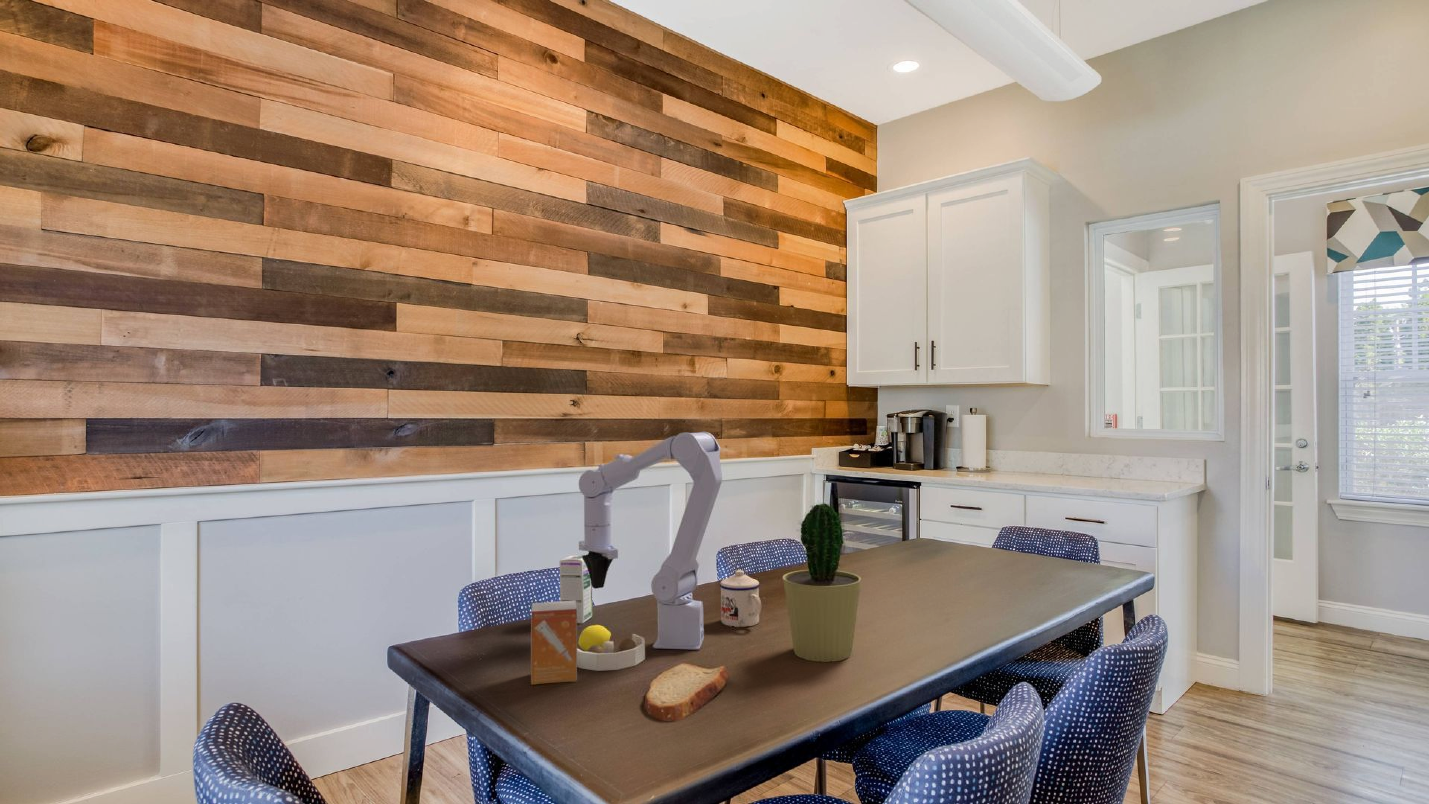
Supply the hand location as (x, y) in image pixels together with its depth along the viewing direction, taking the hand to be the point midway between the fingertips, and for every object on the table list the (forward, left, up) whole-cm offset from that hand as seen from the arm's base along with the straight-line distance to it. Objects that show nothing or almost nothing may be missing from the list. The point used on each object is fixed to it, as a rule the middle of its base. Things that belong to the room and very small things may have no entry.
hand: (598, 587), depth 160 cm
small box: (+1, +27, -10) cm, 29 cm away
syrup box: (+8, -10, -10) cm, 16 cm away
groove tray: (-6, +16, -10) cm, 20 cm away
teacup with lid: (-31, -10, -10) cm, 34 cm away
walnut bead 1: (-5, +19, -10) cm, 22 cm away
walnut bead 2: (-10, +15, -10) cm, 20 cm away
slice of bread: (-25, +33, -10) cm, 43 cm away
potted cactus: (-48, +9, -10) cm, 50 cm away
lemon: (-3, +13, -10) cm, 16 cm away
